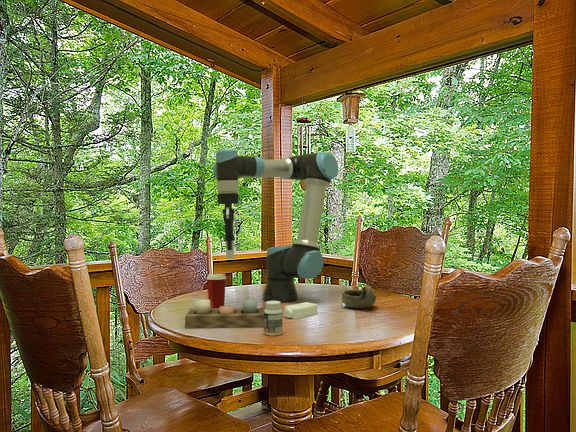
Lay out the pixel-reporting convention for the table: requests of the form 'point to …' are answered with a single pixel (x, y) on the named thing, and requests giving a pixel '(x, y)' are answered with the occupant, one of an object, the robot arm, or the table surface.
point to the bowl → (359, 297)
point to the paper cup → (216, 289)
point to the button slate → (249, 305)
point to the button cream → (203, 306)
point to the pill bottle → (273, 318)
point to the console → (225, 319)
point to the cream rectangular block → (300, 310)
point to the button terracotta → (226, 310)
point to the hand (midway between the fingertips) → (230, 258)
